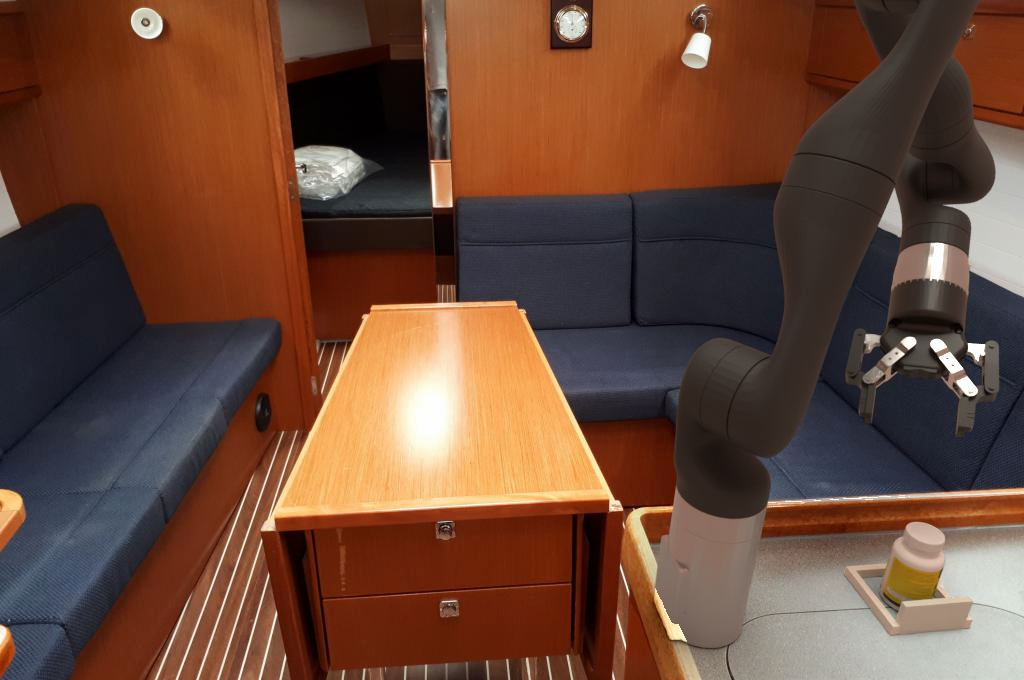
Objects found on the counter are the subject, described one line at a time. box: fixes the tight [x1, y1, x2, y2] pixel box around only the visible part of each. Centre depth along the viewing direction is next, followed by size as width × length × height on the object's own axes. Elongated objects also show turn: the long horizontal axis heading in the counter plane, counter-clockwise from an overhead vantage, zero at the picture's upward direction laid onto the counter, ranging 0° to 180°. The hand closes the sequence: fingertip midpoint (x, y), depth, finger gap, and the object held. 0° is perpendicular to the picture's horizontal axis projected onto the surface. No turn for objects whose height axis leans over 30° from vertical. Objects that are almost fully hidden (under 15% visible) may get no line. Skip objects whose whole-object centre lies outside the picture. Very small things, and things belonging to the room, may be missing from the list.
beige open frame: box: [843, 562, 974, 636], centre depth 86 cm, size 10×10×4 cm
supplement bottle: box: [879, 521, 946, 611], centre depth 85 cm, size 5×5×10 cm
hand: (913, 427), depth 77 cm, fingers open, 8 cm apart
